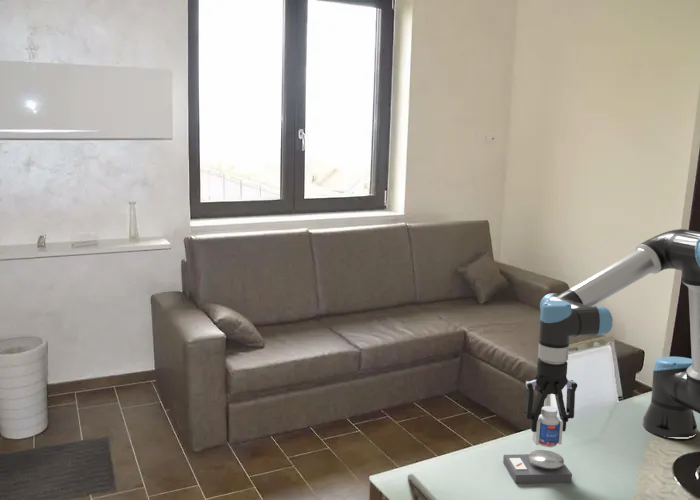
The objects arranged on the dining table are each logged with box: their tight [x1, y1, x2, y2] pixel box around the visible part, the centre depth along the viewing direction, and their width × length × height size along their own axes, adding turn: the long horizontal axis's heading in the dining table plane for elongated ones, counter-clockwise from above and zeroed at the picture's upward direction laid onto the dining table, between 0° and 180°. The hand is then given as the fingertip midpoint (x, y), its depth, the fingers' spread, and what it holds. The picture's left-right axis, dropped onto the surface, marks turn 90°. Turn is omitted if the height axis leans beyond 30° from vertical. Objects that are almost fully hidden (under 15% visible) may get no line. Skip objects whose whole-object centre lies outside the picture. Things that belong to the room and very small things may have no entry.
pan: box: [529, 449, 565, 470], centre depth 171 cm, size 9×9×1 cm
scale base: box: [502, 453, 573, 484], centre depth 172 cm, size 15×11×3 cm
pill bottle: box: [538, 405, 559, 448], centre depth 170 cm, size 6×5×10 cm
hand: (547, 442), depth 170 cm, fingers closed on pill bottle, 5 cm apart
